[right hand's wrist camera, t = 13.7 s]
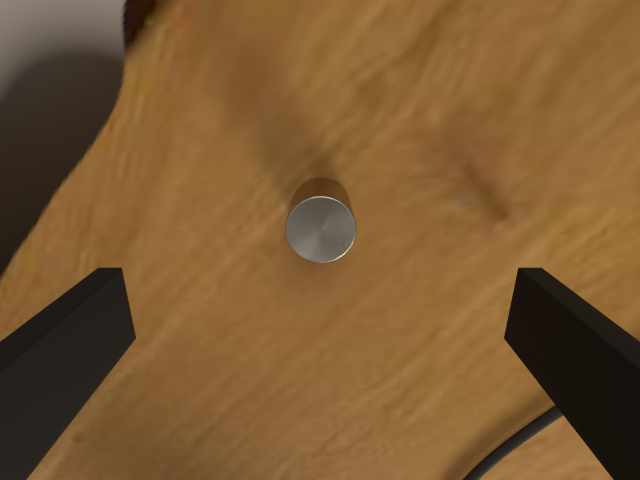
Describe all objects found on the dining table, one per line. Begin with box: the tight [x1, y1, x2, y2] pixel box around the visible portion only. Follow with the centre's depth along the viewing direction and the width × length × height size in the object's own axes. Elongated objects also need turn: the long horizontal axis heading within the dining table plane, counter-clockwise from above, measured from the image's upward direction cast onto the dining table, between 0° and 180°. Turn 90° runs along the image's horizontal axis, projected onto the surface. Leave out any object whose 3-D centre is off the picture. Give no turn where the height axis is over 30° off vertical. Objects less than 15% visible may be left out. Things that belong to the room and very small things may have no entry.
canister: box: [285, 178, 356, 263], centre depth 21 cm, size 4×4×5 cm
